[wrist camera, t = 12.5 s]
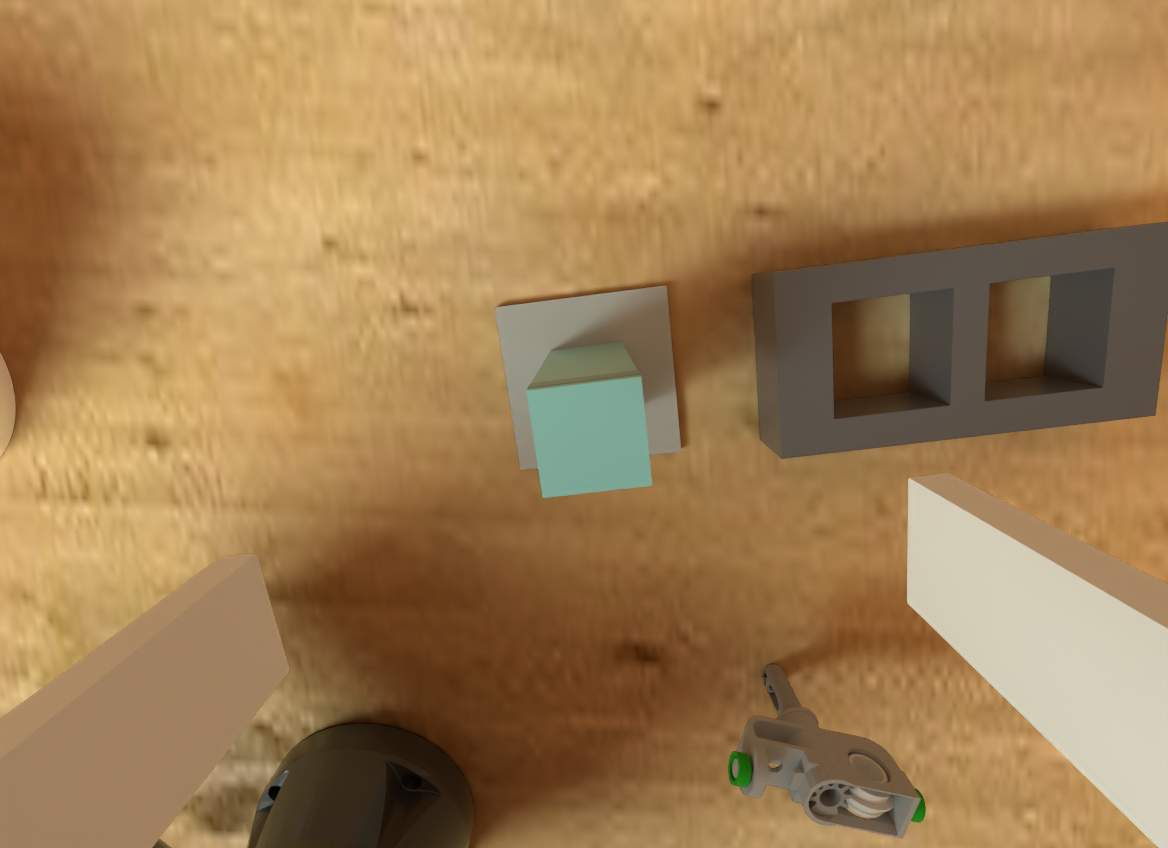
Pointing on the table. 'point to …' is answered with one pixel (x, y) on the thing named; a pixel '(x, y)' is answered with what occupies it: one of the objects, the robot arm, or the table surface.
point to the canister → (6, 406)
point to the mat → (586, 323)
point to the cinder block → (967, 341)
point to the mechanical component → (823, 768)
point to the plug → (589, 421)
